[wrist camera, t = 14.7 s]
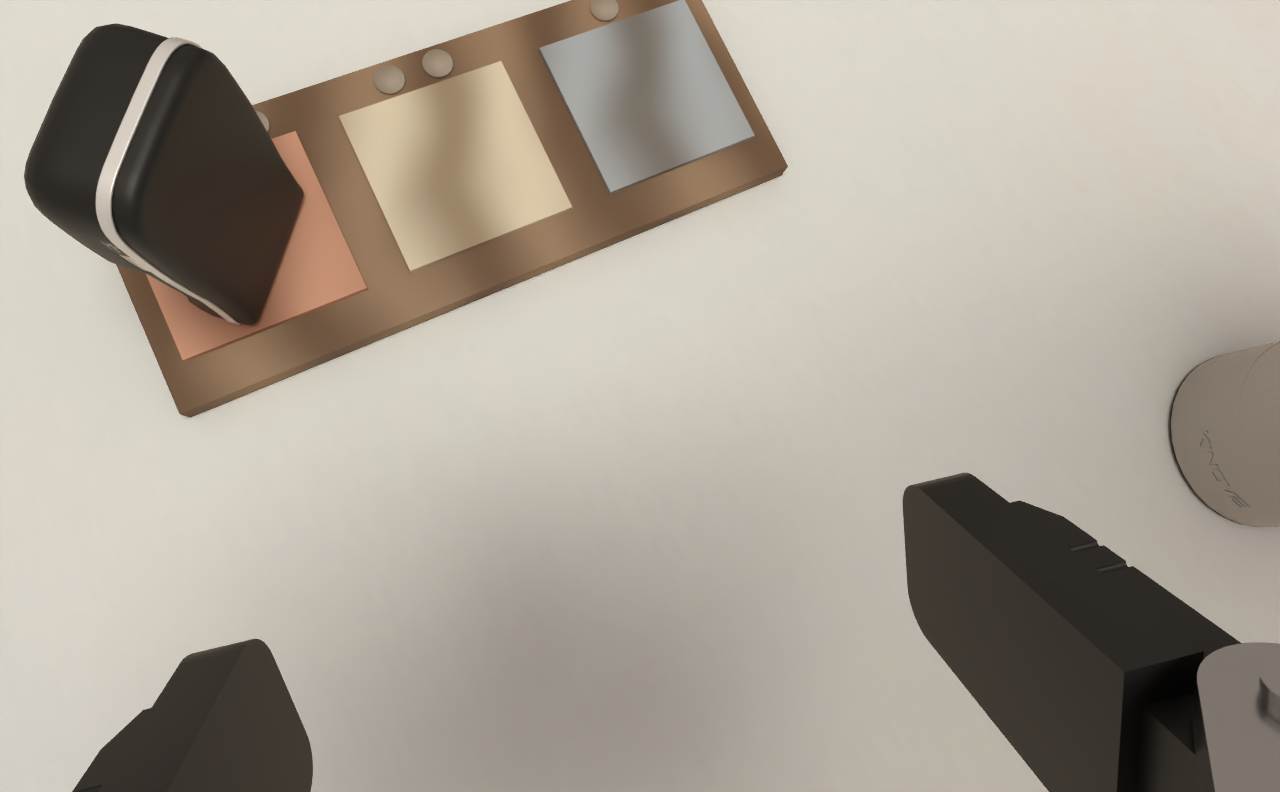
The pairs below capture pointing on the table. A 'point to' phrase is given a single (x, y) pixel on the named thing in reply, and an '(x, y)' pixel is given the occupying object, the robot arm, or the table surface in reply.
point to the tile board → (472, 180)
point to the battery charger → (165, 170)
